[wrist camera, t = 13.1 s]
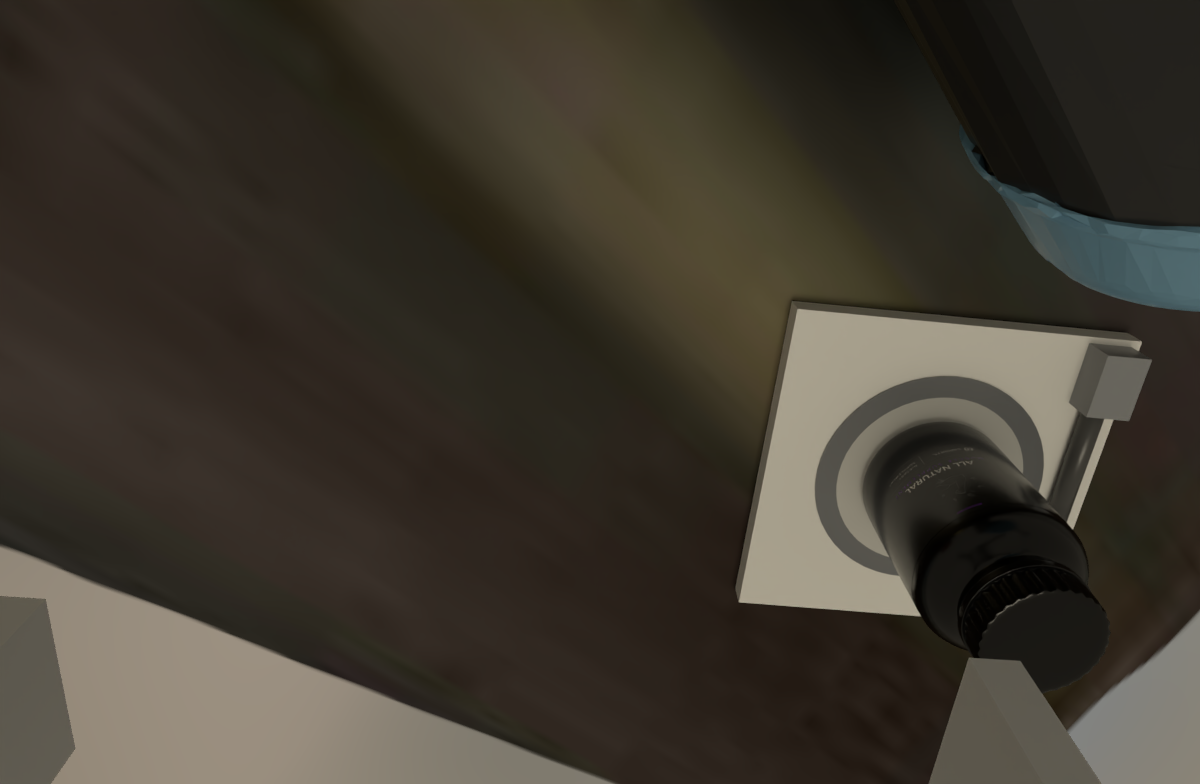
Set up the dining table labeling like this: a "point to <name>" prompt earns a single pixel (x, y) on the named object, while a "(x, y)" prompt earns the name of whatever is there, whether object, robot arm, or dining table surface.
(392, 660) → the dining table surface
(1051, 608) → the supplement bottle
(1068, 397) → the record player
